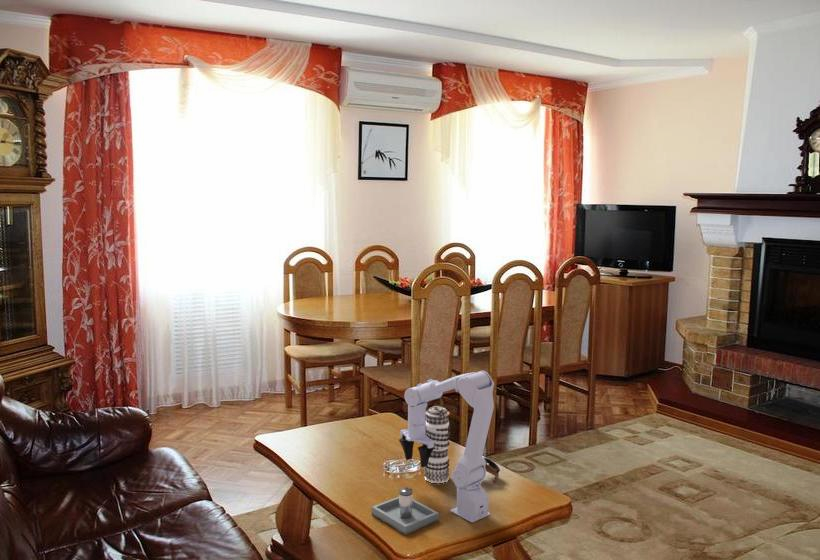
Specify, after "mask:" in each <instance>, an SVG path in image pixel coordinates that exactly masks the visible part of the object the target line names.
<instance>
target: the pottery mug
mask: <svg viewBox="0 0 820 560" xmlns="http://www.w3.org/2000/svg"><path fill="white" fill-rule="evenodd" d="M483 458H484V459H485V461H486V464H485V468H486V473H489V474H491V475H492V476H494V478H493V483H497V481H498V479H499V475H500V474H499V473H500V471H501V468H500V467H499V466H498V464H497V463H495V462H494V461H493V460H491V459H490V458H488V457H483Z"/></svg>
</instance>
